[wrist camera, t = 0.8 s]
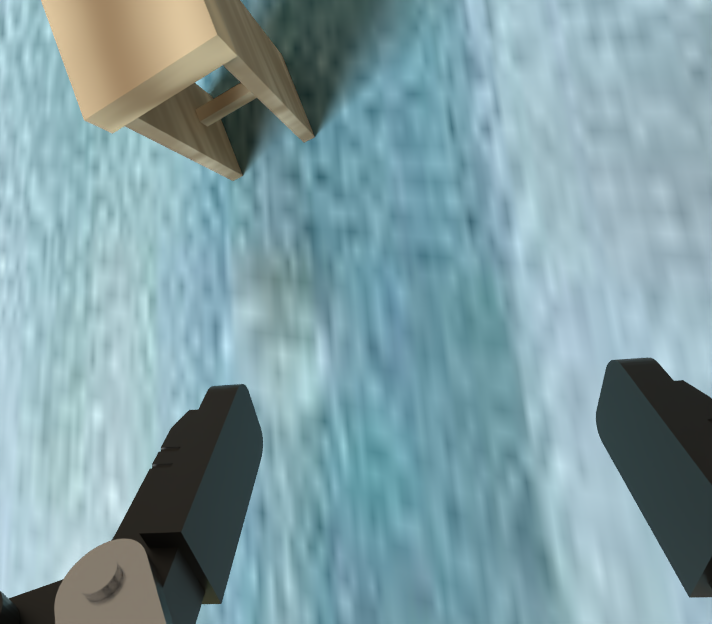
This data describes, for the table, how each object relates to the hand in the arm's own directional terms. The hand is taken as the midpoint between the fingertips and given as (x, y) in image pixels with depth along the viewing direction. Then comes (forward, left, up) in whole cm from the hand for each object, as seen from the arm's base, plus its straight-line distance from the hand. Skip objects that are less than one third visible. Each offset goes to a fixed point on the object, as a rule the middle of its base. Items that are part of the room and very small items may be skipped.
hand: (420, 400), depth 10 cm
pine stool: (-2, -19, -17) cm, 26 cm away
